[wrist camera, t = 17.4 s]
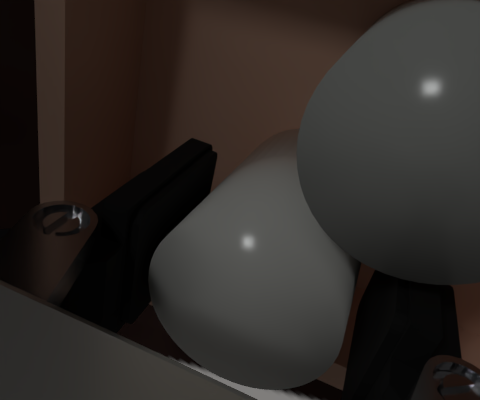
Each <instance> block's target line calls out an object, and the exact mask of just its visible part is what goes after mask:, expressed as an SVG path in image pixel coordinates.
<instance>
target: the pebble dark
mask: <svg viewBox="0 0 480 400" xmlns="http://www.w3.org/2000/svg"><path fill="white" fill-rule="evenodd" d="M296 155H297V171H298V176H299V181H300V186H301V189H302V192H303V195H304V198H305V200H306V202H307V204H308V206H309V209H310V211H311V213H312V214H313V216H314V217H315V219H316V220H317V222H318V224H319V225H320V226H321V228H322V229H323V230H324V231H325V232H326V234H327V235H328V236H329V237H330V238H331V239H332V240H333V241H334V242H335V243H336V244H337V245H338V246H339V247H340V248H341V249H343V250H344V251H345V252H347V253H348V254H349V255H351V256H352V257H354V258H355V259H357V260H358V261H360V262H362V263H364V264H365V265H367V266H369V267H371V268H373V269H375V270H378V271H380V272H382V273H384V274H387V275H390V276H393V277H397V278H400V279H404V280H408V281H413V282H417V283H425V284H434V285H461V284H472V283H478V282H480V0H408V1H405V2H403V3H402V4H400V5H398V6H396V7H394V8H392V9H391V10H389V11H388V12H386V13H385V14H384V15H382V16H381V17H380V18H379V19H378V20H376V21H375V22H374V23H373V24H372V25H371V26H370V27H369V29H368V30H367V31H366V32H365V33H364V34H363V35H362V36H361V37H360V38H359V39H358V40H357V41H356V42H355V43H354V44H353V45H352V46H351V47H350V48H349V49H348V50H347V51H346V52H345V54H344V55H343V56H342V57H341V58H340V59H339V60H338V61H337V62H336V63H335V64H334V65H333V66H332V67H331V69H330V70H329V71H328V72H327V73H326V75H325V76H324V77H323V79H322V80H321V82H320V83H319V84H318V86H317V87H316V89H315V91H314V93H313V95H312V97H311V98H310V100H309V102H308V104H307V107H306V110H305V112H304V115H303V118H302V120H301V125H300V129H299V134H298V140H297V152H296Z"/></svg>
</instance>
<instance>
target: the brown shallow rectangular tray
mask: <svg viewBox="0 0 480 400" xmlns="http://www.w3.org/2000/svg"><path fill="white" fill-rule="evenodd" d="M405 1H408V0H34V3H35V38H36V74H37V110H38V145H39V181H40V204H42V203H46V202H51V201H72V202H77V203H80V204H84V205H86V206H88V207H89V208H92V207H93V206H94V205H96V204H97V203H99V202H100V201H101V200H103V199H104V198H106V197H107V196H109V195H110V194H111V193H113V192H114V191H116V190H117V189H118V188H120V187H121V186H123V185H124V184H126V183H127V182H128V181H130V180H131V179H133V178H134V177H135V176H137V175H138V174H140V173H141V172H143V171H145V170H147V169H148V168H150V167H151V166H153V165H154V164H155V163H157V162H158V161H160V160H161V159H162V158H164V157H165V156H167V155H168V154H169V153H171V152H172V151H174V150H175V149H176V148H178V147H179V146H181V145H182V144H183V143H185V142H186V141H188V140H189V139H191V138H194V139H197V140H200V141H202V142H205V143H208V144H211V145H212V151H215V152H217V162H216V167H215V171H214V176H213V181H212V186H211V191H210V193H211V192H212V191H213V190H214V189H215V188H216V187H217V186H218V185H219V184H220V183H221V182H222V181H223V180H224V179H225V178H226V177H227V176H228V175H229V174H230V173H231V172H232V171H233V170H235V169H236V168H237V167H238V166H239V165H240V164H241V163H242V162H243V161H244V160H245V159H246V158H247V157H248V156H249V155H250V154H251V153H252V152H253V151H254V150H255V149H256V148H257V147H258V146H259V145H260V144H261V143H263V142H264V141H265V140H266V139H268V138H270V137H271V136H273V135H275V134H277V133H280V132H282V131H286V130H290V129H298V128H300V125H301V120H302V118H303V115H304V112H305V110H306V107H307V104H308V102H309V100H310V98H311V97H312V95H313V93H314V91H315V89H316V87H317V86H318V84H319V83H320V82H321V80H322V79H323V77H324V76H325V75H326V73H327V72H328V71H329V70H330V69H331V67H332V66H333V65H334V64H335V63H336V62H337V61H338V60H339V59H340V58H341V57H342V56H343V55H344V54H345V52H346V51H347V50H348V49H349V48H350V47H351V46H352V45H353V44H354V43H355V42H356V41H357V40H358V39H359V38H360V37H361V36H362V35H363V34H364V33H365V32H366V31H367V30H368V29H369V27H370V26H371V25H372V24H373V23H374V22H375V21H376V20H378V19H379V18H380V17H381V16H382V15H384V14H385V13H386V12H388V11H389V10H391V9H392V8H394V7H396V6H398V5H400V4H402V3H403V2H405ZM374 271H375V269H373V268H371V267H369V266H367V265H365V264H364V263H362V262H361V267H360V271H359V275H358V279H357V284H356V288H355V292H354V296H353V301H352V305H351V309H350V313H349V318H348V322H347V326H346V331H345V335H344V339H343V343H342V347H341V349H340V352H339V355H338V356H337V358H336V360H335V361H334V363H333V364H332V366H331V367H330V368H329V369H328V370H327V371H326V372H325V373H324V374H322V375H321V376H320V377H318V378H317V379H318V380H320V381H322V382H325V383H327V384H329V385H331V386H334V387H336V388H338V389H340V390H342V391H343V386H344V381H345V375H346V370H347V364H348V359H349V353H350V348H351V342H352V337H353V331H354V325H355V320H356V314H357V310H358V306H359V303H360V301H361V298H362V296H363V294H364V292H365V290H366V288H367V286H368V283H369V281H370V279H371V277H372V275H373V273H374ZM450 286H452V287H453V290H454V296H455V304H456V313H457V322H458V330H459V339H460V348H461V356H462V359H463V360H465V361H467V362H469V363H471V364H473V365H474V366H476V367H477V368H479V369H480V282H478V283H472V284H461V285H450ZM149 304H150V305H152V306H153V304H152V301H151V302H150V303H149Z"/></svg>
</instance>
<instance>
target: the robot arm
mask: <svg viewBox="0 0 480 400" xmlns="http://www.w3.org/2000/svg"><path fill="white" fill-rule="evenodd" d="M216 162H217V152H215V151H212V145H211V144H208V143H205V142H202V141H200V140H197V139H194V138H191V139H189V140H188V141H186V142H185V143H183V144H182V145H181V146H179V147H178V148H176V149H175V150H174V151H172V152H171V153H169V154H168V155H167V156H165V157H164V158H162V159H161V160H160V161H158V162H157V163H155V164H154V165H153V166H151V167H150V168H148V169H147V170H145V171H143V172H141V173H140V174H138V175H137V176H135V177H134V178H133V179H131V180H130V181H128V182H127V183H126V184H124V185H123V186H121V187H120V188H118V189H117V190H116V191H114V192H113V193H111V194H110V195H109V196H107V197H106V198H104V199H103V200H101V201H100V202H99V203H97V204H96V205H94V206H93V207H92V208H89V207H88V206H86V205H84V204H80V203H77V202H72V201H51V202H46V203H42V204H40V205H37V206H35V207H33V208H32V209H30V210H29V211H28V212H27V213H26V214H25V215H24V216H23V217H22V218H21V219H20V220H19V221H18V222H17V223H16V224H15V225H14V226H13V227H12V228H11V229H0V400H257V399H255V398H253V397H251V396H249V395H247V394H244V393H242V392H240V391H238V390H236V389H234V388H231V387H229V386H227V385H225V384H223V383H221V382H219V381H217V380H214V379H212V378H210V377H208V376H206V375H204V374H202V373H200V372H198V371H195V370H193V369H191V368H189V367H187V366H185V365H183V364H181V363H178V362H176V361H174V360H172V359H170V358H168V357H166V356H163V355H161V354H159V353H157V352H155V351H153V350H151V349H148V348H146V347H144V346H142V345H140V344H138V343H136V342H133V341H131V340H129V339H127V338H125V337H123V336H121V335H118V334H116V333H117V332H118V331H119V329H120V328H121V327H122V326H123V325H124V324H125V322H127V323H129V324H132V323H133V322H134V321H135V320H136V319H137V318H138V316H139V315H140V314H141V313H142V312H143V310H144V309H145V308H146V307H147V305H148V304H149V303H150V302H151V297H150V292H149V283H148V276H149V267H150V263H151V259H152V257H153V254H154V252H155V250H156V249H157V247H158V245H159V244H160V243H161V241H162V240H163V239H164V238H165V237H166V236H167V235H168V234H169V233H170V232H171V231H172V230H173V229H174V228H175V227H176V226H177V225H178V224H179V223H180V222H181V221H182V220H183V219H184V218H185V217H186V216H187V215H188V214H189V213H190V212H191V211H193V210H194V209H195V208H196V207H197V206H198V205H199V204H200V203H201V202H202V201H203V200H204V199H205V198H206V197H207V196H208V195H209V194H210V191H211V186H212V181H213V176H214V171H215V167H216ZM341 400H480V369H479V368H477V367H476V366H474V365H473V364H471V363H469V362H467V361H465V360H463V359H462V356H461V348H460V339H459V330H458V322H457V313H456V304H455V296H454V290H453V287H452V286H450V285H434V284H425V283H417V282H413V281H408V280H404V279H400V278H397V277H393V276H390V275H387V274H384V273H382V272H380V271H378V270H375V271H374V273H373V275H372V277H371V279H370V281H369V283H368V286H367V288H366V290H365V292H364V294H363V296H362V298H361V301H360V303H359V306H358V310H357V314H356V320H355V325H354V331H353V337H352V342H351V348H350V353H349V359H348V364H347V370H346V375H345V381H344V386H343V392H342V397H341Z"/></svg>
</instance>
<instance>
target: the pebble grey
mask: <svg viewBox="0 0 480 400" xmlns="http://www.w3.org/2000/svg"><path fill="white" fill-rule="evenodd" d="M299 129H300V128H298V129H290V130H286V131H282V132H280V133H277V134H275V135H273V136H271V137H270V138H268V139H266V140H265V141H264V142H263V143H261V144H260V145H259V146H258V147H257V148H256V149H255V150H254V151H253V152H252V153H251V154H250V155H249V156H248V157H247V158H246V159H245V160H244V161H243V162H242V163H241V164H240V165H239V166H238V167H237V168H236V169H235V170H233V171H232V172H231V173H230V174H229V175H228V176H227V177H226V178H225V179H224V180H223V181H222V182H221V183H220V184H219V185H218V186H217V187H216V188H215V189H214V190H213V191H212V192H211V193H210V194H209V195H208V196H207V197H206V198H205V199H204V200H203V201H202V202H201V203H200V204H199V205H198V206H197V207H196V208H195V209H194V210H193V211H191V212H190V213H189V214H188V215H187V216H186V217H185V218H184V219H183V220H182V221H181V222H180V223H179V224H178V225H177V226H176V227H175V228H174V229H173V230H172V231H171V232H170V233H169V234H168V235H167V236H166V237H165V238H164V239H163V240H162V241H161V243H160V244H159V245H158V247H157V249H156V250H155V252H154V254H153V257H152V259H151V263H150V267H149V276H148V283H149V292H150V297H151V301H152V304H153V307H154V310H155V312H156V314H157V316H158V318H159V320H160V322H161V324H162V325H163V327H164V329H165V330H166V332H167V333H168V334H169V336H170V337H171V338H172V340H173V341H174V342H175V343H176V344H177V345H178V346H179V347H180V348H181V349H182V350H183V351H184V352H185V353H186V354H187V355H188V356H189V357H190V358H192V359H193V360H194V361H196V362H197V363H198V364H200V365H201V366H203V367H204V368H206V369H207V370H209V371H210V372H212V373H214V374H216V375H218V376H220V377H222V378H224V379H227V380H229V381H231V382H234V383H237V384H240V385H244V386H248V387H252V388H259V389H269V390H280V389H289V388H294V387H299V386H302V385H304V384H307V383H310V382H311V381H313V380H315V379H317V378H318V377H320V376H321V375H322V374H324V373H325V372H326V371H327V370H328V369H329V368H330V367H331V366H332V364H333V363H334V361H335V360H336V358H337V356H338V355H339V352H340V349H341V347H342V343H343V339H344V335H345V331H346V326H347V322H348V318H349V313H350V309H351V305H352V301H353V296H354V292H355V288H356V284H357V279H358V275H359V271H360V267H361V262H360V261H358V260H357V259H355V258H354V257H352V256H351V255H349V254H348V253H347V252H345V251H344V250H343V249H341V248H340V247H339V246H338V245H337V244H336V243H335V242H334V241H333V240H332V239H331V238H330V237H329V236H328V235H327V234H326V232H325V231H324V230H323V229H322V228H321V226H320V225H319V224H318V222H317V220H316V219H315V217H314V216H313V214H312V213H311V211H310V209H309V206H308V204H307V202H306V200H305V198H304V195H303V192H302V189H301V186H300V181H299V176H298V171H297V155H296V152H297V140H298V134H299Z"/></svg>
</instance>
